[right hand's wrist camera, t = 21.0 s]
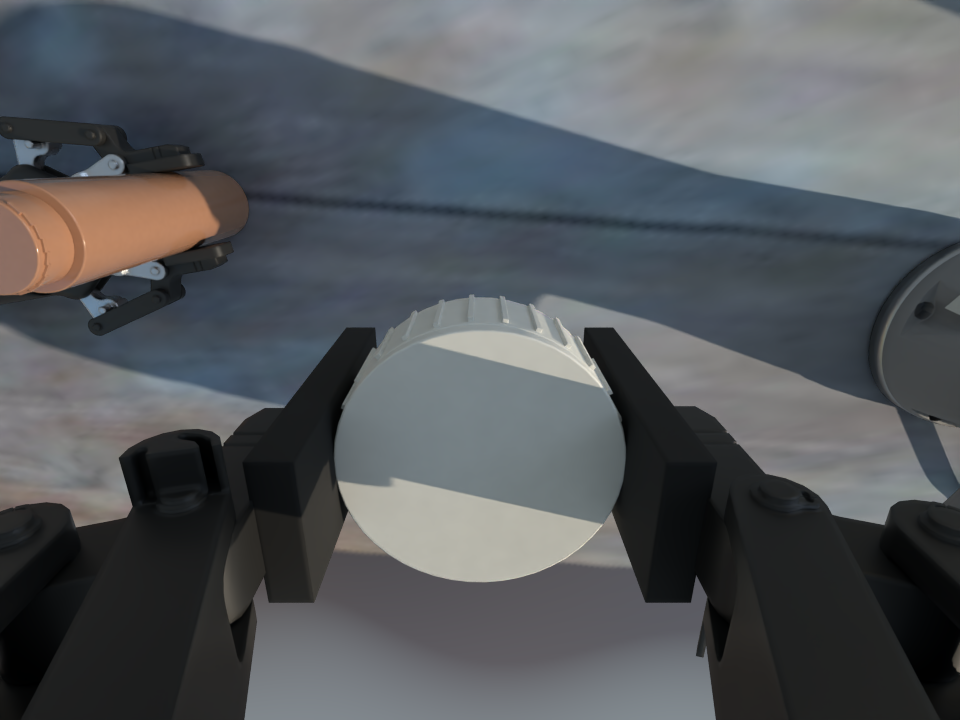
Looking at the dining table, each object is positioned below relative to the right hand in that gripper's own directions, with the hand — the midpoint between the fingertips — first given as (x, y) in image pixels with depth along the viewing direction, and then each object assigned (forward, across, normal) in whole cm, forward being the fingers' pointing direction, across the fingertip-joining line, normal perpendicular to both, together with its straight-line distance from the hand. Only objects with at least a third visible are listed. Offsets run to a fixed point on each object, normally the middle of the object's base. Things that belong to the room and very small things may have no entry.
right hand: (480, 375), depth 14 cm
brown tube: (+27, +20, -2) cm, 34 cm away
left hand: (+21, +17, -3) cm, 27 cm away
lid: (-4, 0, 0) cm, 4 cm away
